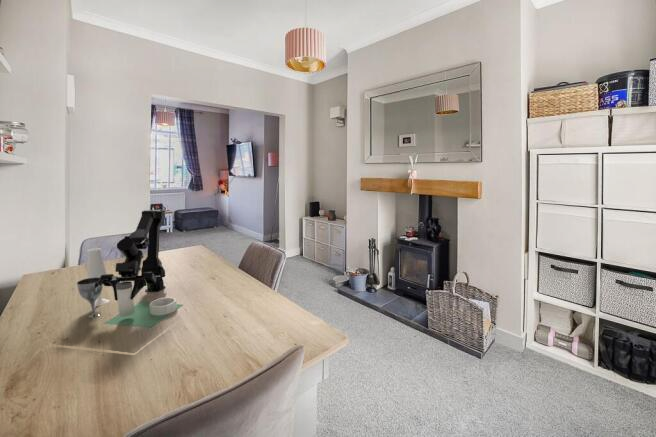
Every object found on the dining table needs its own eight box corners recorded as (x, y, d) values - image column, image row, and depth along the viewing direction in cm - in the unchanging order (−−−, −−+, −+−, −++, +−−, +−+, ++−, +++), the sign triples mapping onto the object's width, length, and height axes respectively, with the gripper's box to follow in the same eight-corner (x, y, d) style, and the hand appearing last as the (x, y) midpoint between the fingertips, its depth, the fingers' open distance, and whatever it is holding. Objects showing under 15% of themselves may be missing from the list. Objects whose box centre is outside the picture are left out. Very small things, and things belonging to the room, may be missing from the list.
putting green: (103, 324, 121) (102, 314, 120) (142, 302, 141) (141, 293, 140) (150, 329, 118) (149, 318, 117) (183, 306, 137) (183, 296, 137)
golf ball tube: (115, 316, 123) (112, 286, 121) (126, 310, 128) (123, 281, 126) (127, 317, 122) (124, 287, 120) (138, 311, 127) (135, 282, 125)
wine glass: (90, 312, 131) (85, 277, 129) (110, 312, 132) (106, 276, 129) (76, 322, 123) (71, 284, 121) (98, 321, 124) (94, 284, 122)
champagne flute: (90, 307, 136) (83, 252, 132) (91, 301, 142) (84, 248, 138) (109, 303, 140) (103, 250, 136) (109, 298, 145) (104, 246, 141)
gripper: (98, 254, 123) (86, 293, 114) (151, 252, 126) (143, 289, 117) (110, 267, 132) (100, 304, 123) (159, 265, 135) (152, 300, 126)
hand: (123, 299), depth 122 cm, fingers closed on golf ball tube, 5 cm apart
